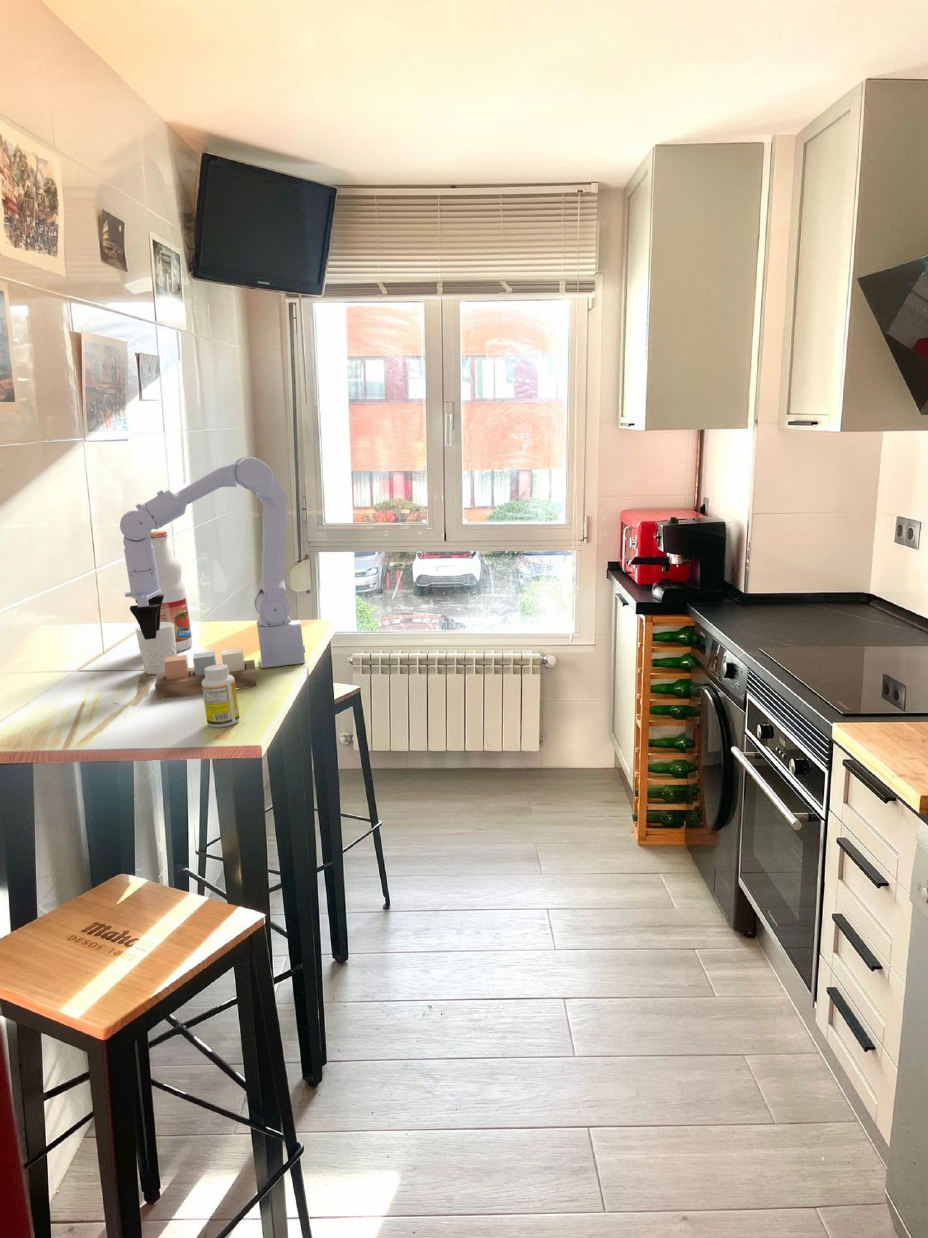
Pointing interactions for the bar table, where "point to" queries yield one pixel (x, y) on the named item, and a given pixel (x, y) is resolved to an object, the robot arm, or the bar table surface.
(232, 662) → the off-white cube
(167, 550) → the fruit juice
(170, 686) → the wooden tray
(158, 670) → the white cup
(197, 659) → the light blue cube
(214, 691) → the supplement bottle
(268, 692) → the bar table surface
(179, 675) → the salmon orange cube
